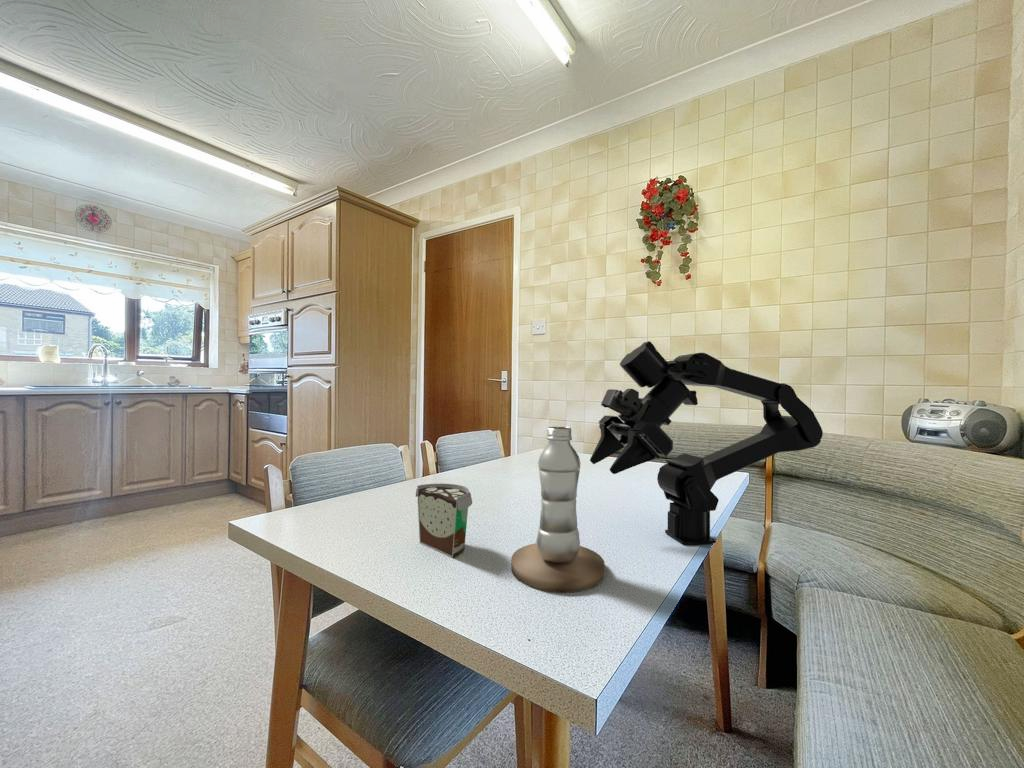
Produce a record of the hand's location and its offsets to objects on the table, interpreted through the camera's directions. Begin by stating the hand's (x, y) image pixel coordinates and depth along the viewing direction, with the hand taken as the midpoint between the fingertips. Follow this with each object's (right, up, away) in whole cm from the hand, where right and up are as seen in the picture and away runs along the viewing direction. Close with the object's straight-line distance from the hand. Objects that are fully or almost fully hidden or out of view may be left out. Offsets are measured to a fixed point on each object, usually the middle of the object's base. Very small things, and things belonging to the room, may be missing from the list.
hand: (600, 466), depth 72 cm
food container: (-27, -14, -2) cm, 30 cm away
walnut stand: (-9, -13, -11) cm, 19 cm away
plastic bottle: (-9, -12, -11) cm, 18 cm away
